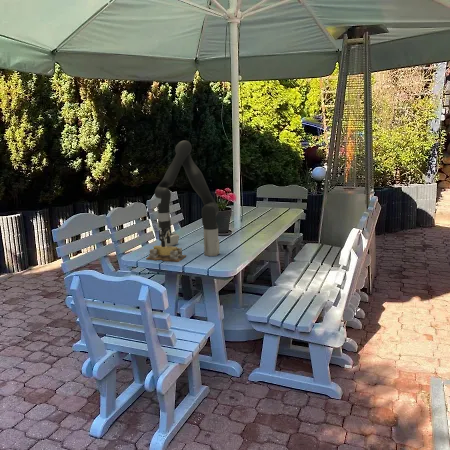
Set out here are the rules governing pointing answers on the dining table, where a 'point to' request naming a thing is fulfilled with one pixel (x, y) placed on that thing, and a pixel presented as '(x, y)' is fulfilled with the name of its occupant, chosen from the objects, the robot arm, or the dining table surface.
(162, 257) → the chain bed
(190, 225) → the dining table surface
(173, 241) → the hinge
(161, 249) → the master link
